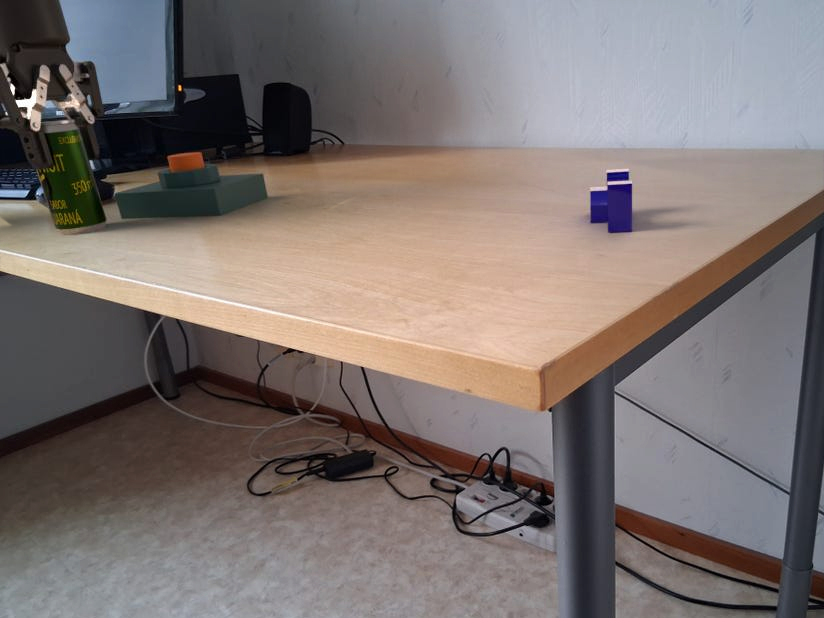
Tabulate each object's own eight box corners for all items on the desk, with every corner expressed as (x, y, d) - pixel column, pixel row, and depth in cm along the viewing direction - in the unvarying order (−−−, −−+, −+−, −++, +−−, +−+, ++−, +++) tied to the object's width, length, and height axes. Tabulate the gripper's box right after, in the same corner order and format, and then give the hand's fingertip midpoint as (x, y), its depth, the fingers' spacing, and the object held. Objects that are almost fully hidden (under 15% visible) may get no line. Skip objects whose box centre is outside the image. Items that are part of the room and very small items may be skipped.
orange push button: (164, 174, 85) (160, 157, 85) (184, 169, 89) (180, 153, 88) (192, 173, 84) (188, 156, 84) (211, 168, 88) (207, 151, 87)
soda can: (76, 226, 83) (43, 121, 79) (118, 223, 83) (87, 117, 78) (46, 237, 78) (9, 126, 74) (90, 234, 78) (56, 122, 73)
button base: (121, 219, 85) (109, 178, 83) (177, 201, 95) (168, 164, 93) (220, 216, 82) (210, 172, 80) (268, 198, 92) (260, 159, 90)
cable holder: (590, 213, 67) (590, 171, 65) (628, 211, 66) (628, 168, 64) (590, 233, 59) (589, 185, 58) (631, 231, 59) (632, 183, 57)
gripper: (42, 3, 78) (88, 156, 85) (-79, -5, 66) (-15, 176, 72) (97, -4, 76) (139, 153, 83) (-17, -14, 64) (43, 172, 70)
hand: (67, 163), depth 78 cm, fingers open, 6 cm apart
